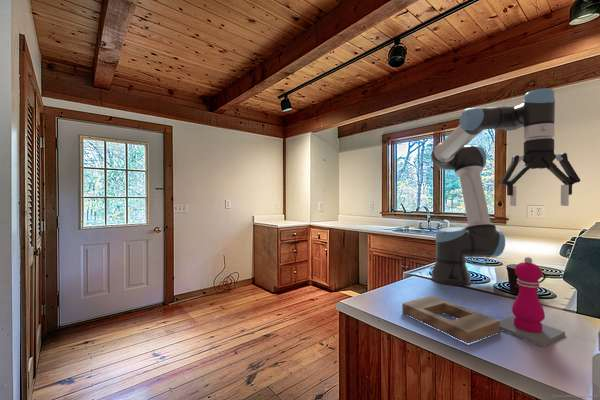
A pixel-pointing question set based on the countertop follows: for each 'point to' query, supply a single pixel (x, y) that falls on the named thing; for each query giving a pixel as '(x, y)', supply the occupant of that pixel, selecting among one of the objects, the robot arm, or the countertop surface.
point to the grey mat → (538, 338)
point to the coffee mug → (515, 278)
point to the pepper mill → (528, 298)
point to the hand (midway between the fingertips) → (538, 205)
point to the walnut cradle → (463, 328)
